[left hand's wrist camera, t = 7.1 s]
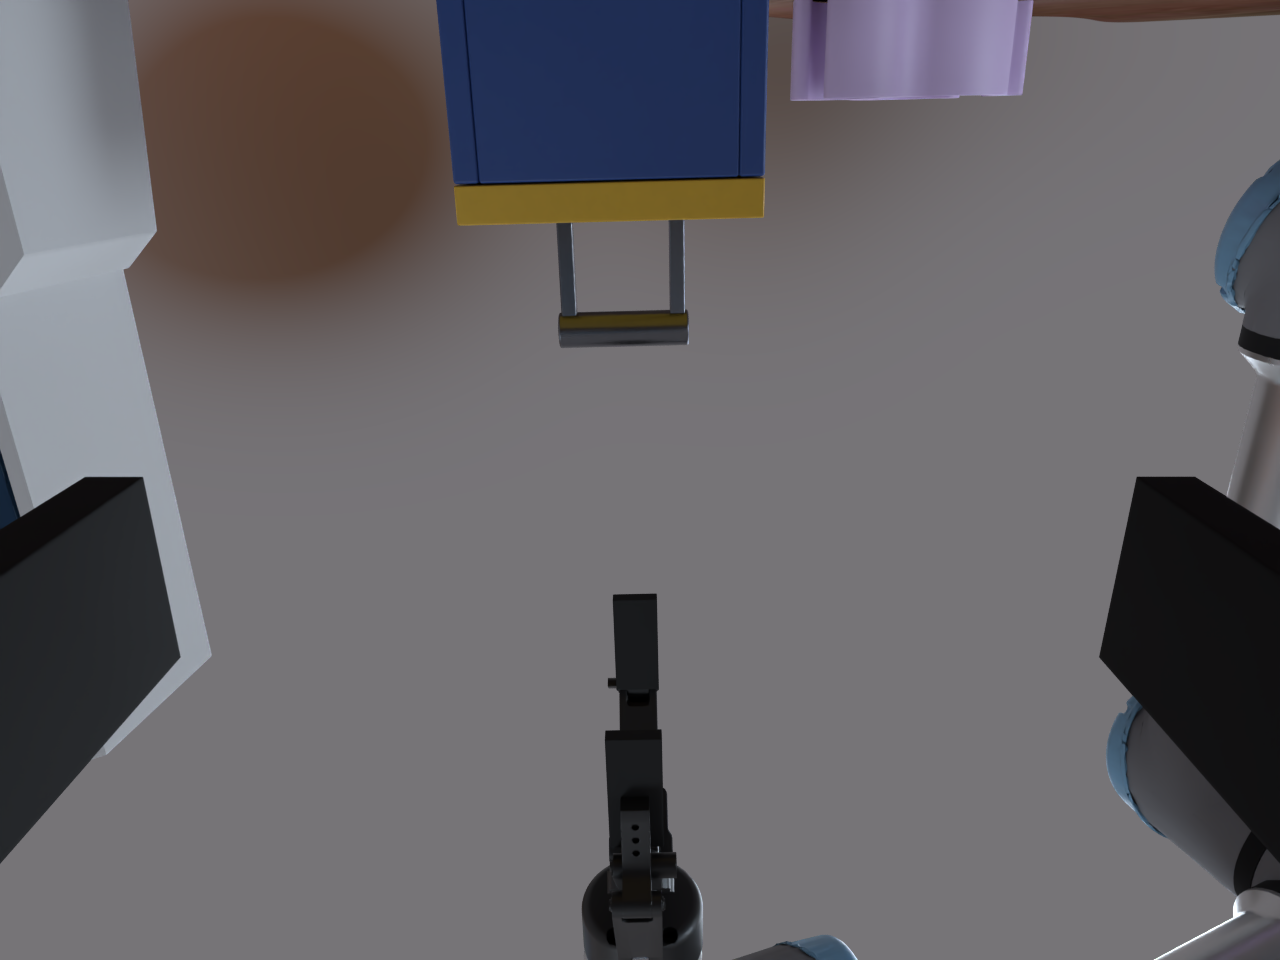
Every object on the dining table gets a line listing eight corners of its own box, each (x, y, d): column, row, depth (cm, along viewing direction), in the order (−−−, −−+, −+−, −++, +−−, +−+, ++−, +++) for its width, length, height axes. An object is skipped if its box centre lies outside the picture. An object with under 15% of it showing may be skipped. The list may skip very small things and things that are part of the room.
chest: (725, -97, 38) (723, 158, 42) (497, -90, 38) (515, 163, 42) (775, -224, 24) (765, 175, 28) (415, -213, 24) (453, 184, 28)
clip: (759, 6, 72) (757, 101, 74) (873, -15, 62) (867, 96, 64) (938, 14, 81) (931, 99, 84) (1062, -3, 71) (1050, 93, 74)
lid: (722, 158, 42) (720, 333, 46) (517, 164, 43) (529, 338, 46) (765, 177, 28) (759, 433, 31) (453, 186, 28) (477, 440, 31)
